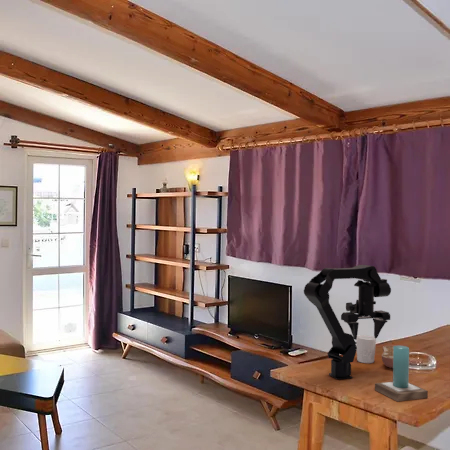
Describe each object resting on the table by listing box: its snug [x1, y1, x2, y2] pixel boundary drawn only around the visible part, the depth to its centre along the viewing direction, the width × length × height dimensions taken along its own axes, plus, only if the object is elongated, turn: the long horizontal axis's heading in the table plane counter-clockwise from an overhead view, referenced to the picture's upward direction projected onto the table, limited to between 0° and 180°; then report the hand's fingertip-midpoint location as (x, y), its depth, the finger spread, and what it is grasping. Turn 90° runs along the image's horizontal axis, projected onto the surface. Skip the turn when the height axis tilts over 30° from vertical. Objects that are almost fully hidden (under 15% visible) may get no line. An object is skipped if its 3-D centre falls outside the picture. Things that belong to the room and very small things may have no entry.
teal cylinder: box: [392, 345, 410, 388], centre depth 178 cm, size 5×5×13 cm
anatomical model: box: [381, 344, 395, 370], centre depth 217 cm, size 23×10×5 cm, turn 161°
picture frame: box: [374, 381, 429, 402], centre depth 178 cm, size 12×12×3 cm
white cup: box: [355, 334, 377, 364], centre depth 219 cm, size 8×8×10 cm
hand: (365, 338), depth 203 cm, fingers open, 9 cm apart
